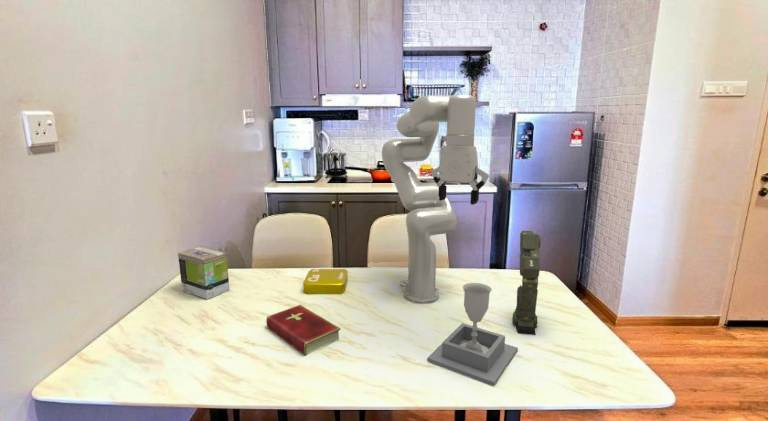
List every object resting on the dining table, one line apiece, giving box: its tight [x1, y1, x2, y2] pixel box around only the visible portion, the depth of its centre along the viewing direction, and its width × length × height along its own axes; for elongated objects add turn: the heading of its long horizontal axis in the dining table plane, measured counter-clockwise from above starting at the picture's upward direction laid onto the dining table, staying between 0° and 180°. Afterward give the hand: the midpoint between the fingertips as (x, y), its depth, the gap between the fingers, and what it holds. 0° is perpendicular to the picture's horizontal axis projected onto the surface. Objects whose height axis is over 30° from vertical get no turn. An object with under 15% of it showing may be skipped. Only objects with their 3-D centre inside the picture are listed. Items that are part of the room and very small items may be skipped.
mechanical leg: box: [512, 230, 542, 336], centre depth 125 cm, size 14×7×30 cm, turn 168°
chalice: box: [462, 282, 493, 353], centre depth 109 cm, size 7×7×18 cm
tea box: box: [177, 246, 230, 300], centre depth 151 cm, size 15×10×15 cm
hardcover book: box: [265, 304, 341, 356], centre depth 122 cm, size 12×21×4 cm, turn 43°
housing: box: [426, 322, 519, 387], centre depth 110 cm, size 18×18×5 cm
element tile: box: [302, 268, 349, 295], centre depth 156 cm, size 15×15×5 cm
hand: (457, 201), depth 119 cm, fingers open, 9 cm apart
